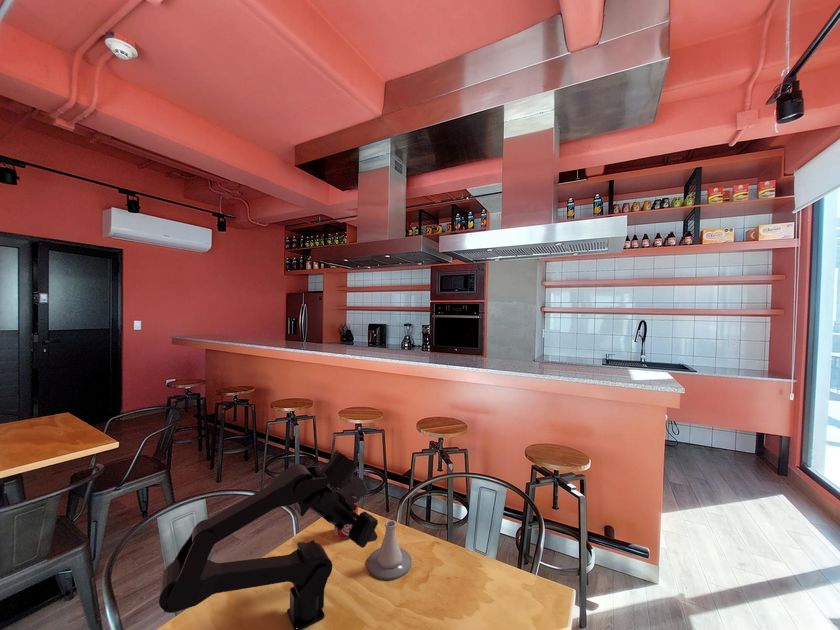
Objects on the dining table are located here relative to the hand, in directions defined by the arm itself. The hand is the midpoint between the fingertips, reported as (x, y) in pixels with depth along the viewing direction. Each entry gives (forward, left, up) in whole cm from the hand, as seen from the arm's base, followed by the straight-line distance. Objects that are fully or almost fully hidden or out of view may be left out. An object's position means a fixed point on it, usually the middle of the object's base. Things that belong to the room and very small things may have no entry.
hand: (365, 530), depth 88 cm
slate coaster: (+8, +1, -13) cm, 15 cm away
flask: (+9, +1, -12) cm, 15 cm away
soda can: (+4, +20, -13) cm, 24 cm away
